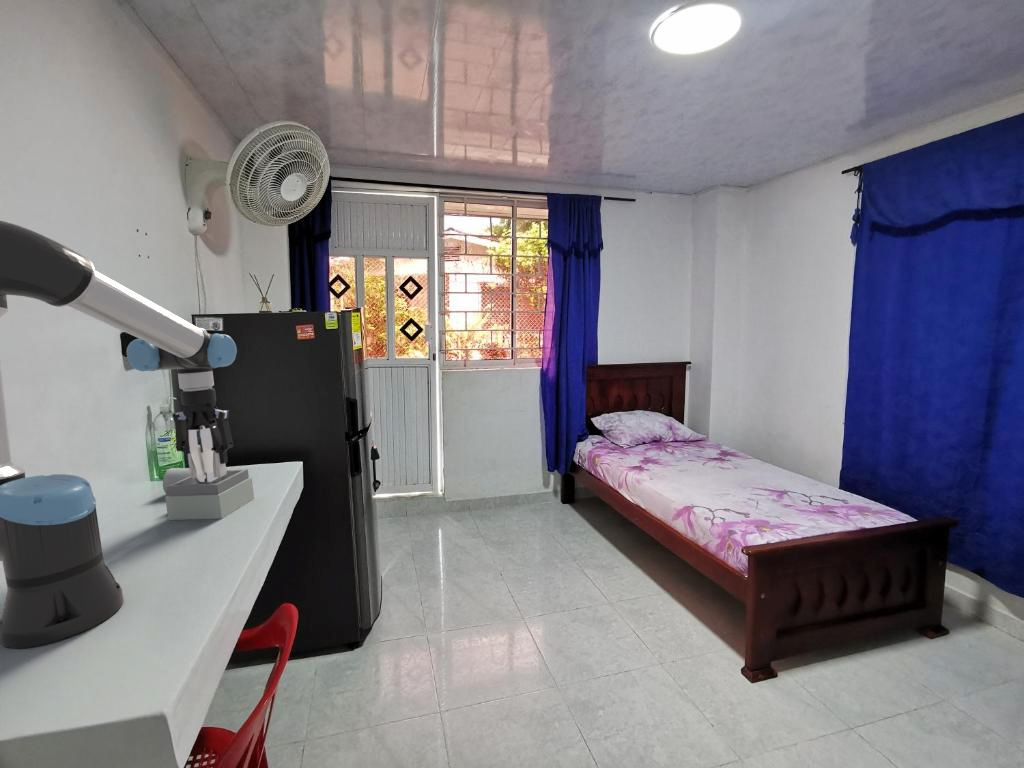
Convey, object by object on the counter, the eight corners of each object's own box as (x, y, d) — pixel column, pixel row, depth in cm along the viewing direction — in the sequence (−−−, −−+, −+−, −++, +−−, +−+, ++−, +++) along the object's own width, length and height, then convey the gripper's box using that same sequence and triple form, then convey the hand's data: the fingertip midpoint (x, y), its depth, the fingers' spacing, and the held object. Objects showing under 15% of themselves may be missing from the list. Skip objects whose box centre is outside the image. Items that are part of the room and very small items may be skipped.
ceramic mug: (194, 496, 142) (191, 469, 141) (163, 498, 141) (160, 472, 140) (211, 485, 153) (208, 460, 152) (183, 487, 152) (180, 462, 151)
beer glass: (222, 484, 128) (215, 427, 126) (191, 489, 125) (183, 431, 124) (227, 477, 134) (220, 423, 133) (197, 481, 132) (189, 426, 130)
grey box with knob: (222, 518, 123) (217, 485, 122) (156, 520, 124) (152, 487, 123) (254, 498, 137) (250, 468, 136) (195, 500, 138) (191, 470, 137)
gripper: (242, 385, 130) (253, 470, 133) (172, 388, 131) (183, 473, 134) (224, 389, 122) (236, 479, 125) (149, 392, 124) (162, 482, 126)
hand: (208, 476), depth 130 cm, fingers closed on beer glass, 6 cm apart
